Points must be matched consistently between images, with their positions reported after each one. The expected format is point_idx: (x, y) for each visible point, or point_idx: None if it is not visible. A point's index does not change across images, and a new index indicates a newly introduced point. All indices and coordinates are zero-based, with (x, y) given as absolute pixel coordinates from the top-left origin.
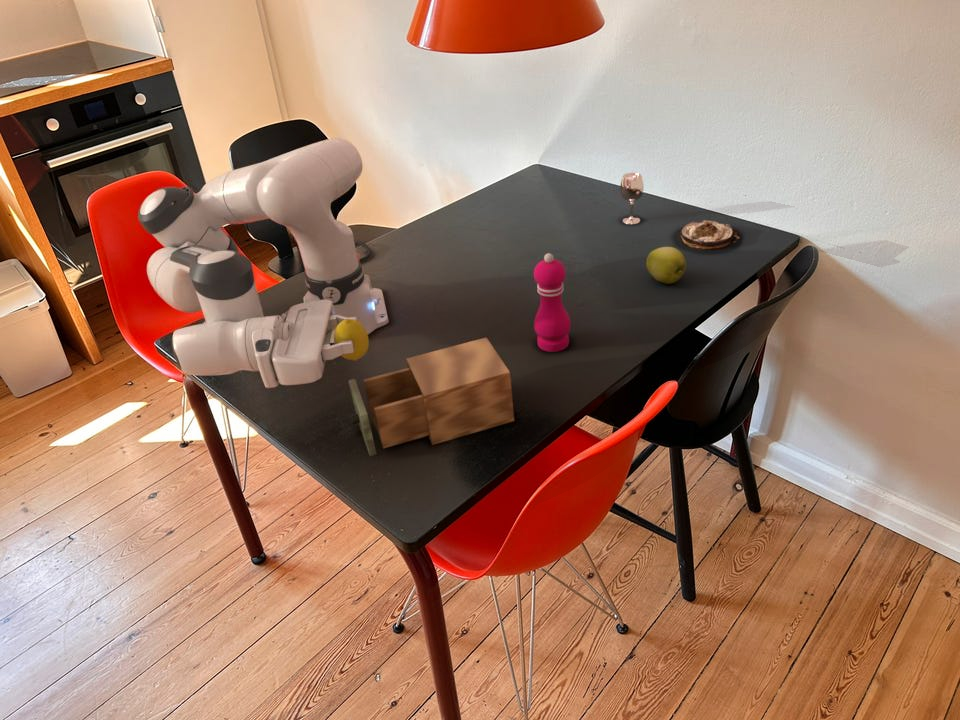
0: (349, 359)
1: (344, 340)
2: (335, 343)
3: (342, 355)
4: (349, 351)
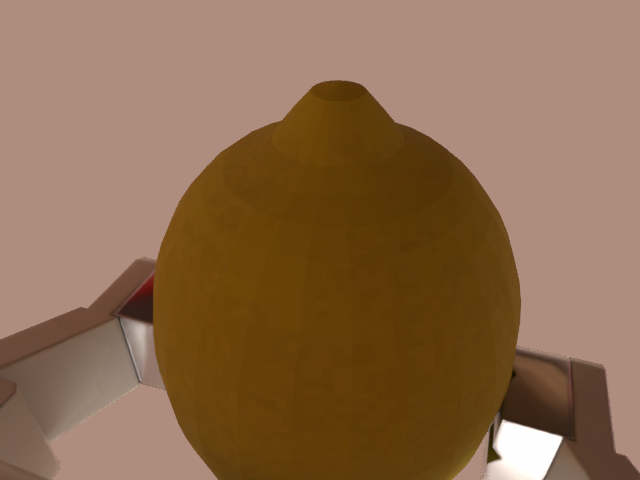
0: (192, 188)
1: None
2: (193, 443)
3: (156, 287)
4: (130, 282)
